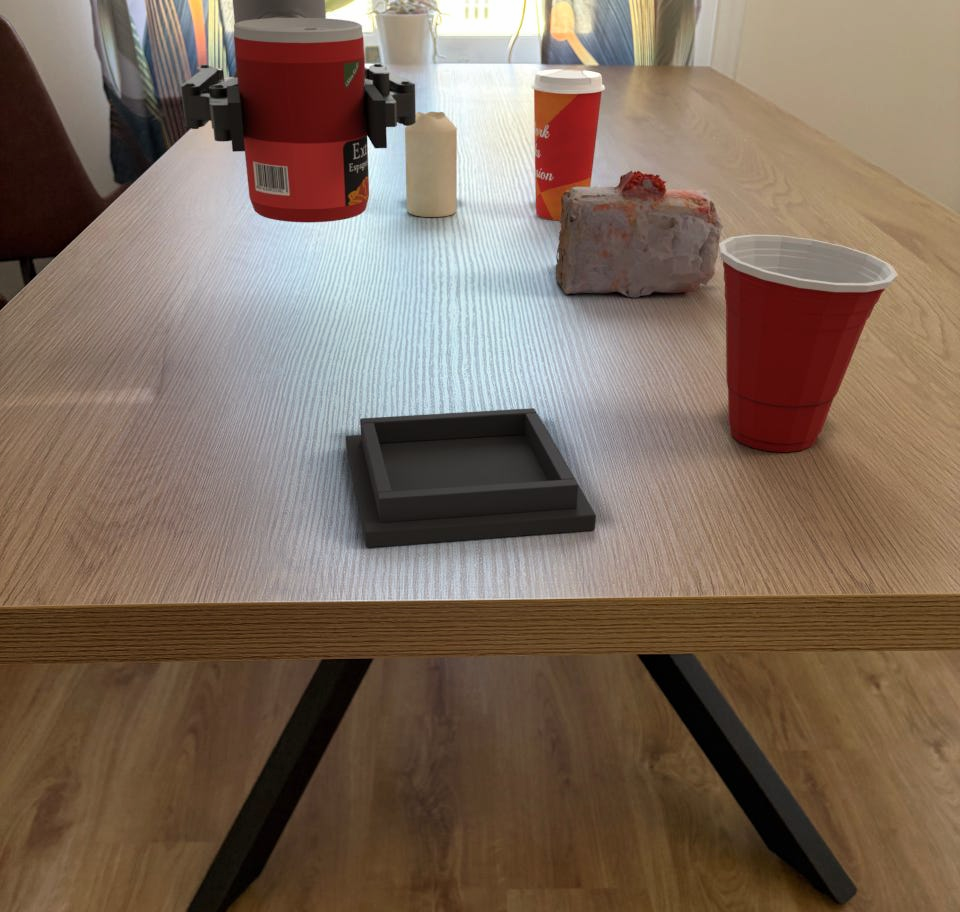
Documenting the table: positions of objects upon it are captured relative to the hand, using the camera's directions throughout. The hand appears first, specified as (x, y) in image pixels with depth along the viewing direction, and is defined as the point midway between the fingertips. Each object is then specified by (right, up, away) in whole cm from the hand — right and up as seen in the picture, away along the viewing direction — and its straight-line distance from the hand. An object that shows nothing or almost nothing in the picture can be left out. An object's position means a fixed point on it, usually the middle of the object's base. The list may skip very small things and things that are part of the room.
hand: (309, 125), depth 68 cm
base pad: (+9, -22, 0) cm, 24 cm away
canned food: (-1, -2, +7) cm, 8 cm away
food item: (+24, +1, +34) cm, 42 cm away
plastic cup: (+30, -18, +7) cm, 36 cm away
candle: (+5, +16, +56) cm, 58 cm away
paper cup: (+19, +16, +56) cm, 61 cm away
